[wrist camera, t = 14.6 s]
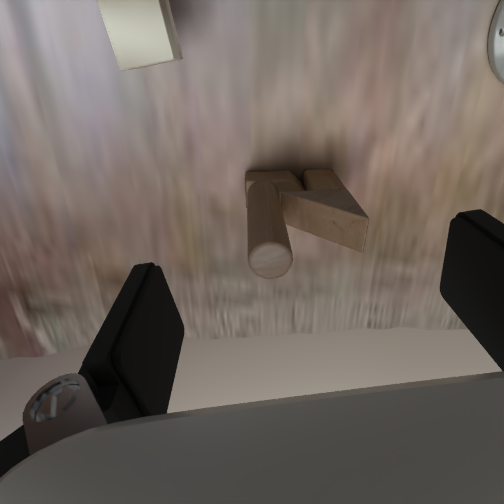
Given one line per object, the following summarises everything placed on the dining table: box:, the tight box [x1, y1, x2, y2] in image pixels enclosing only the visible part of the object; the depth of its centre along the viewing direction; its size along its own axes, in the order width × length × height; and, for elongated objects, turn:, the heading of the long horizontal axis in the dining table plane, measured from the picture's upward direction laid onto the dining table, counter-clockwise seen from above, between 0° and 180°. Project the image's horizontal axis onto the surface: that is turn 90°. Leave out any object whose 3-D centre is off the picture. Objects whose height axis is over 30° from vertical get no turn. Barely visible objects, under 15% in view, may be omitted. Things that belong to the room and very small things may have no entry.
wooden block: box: [245, 169, 369, 279], centre depth 33 cm, size 4×11×18 cm, turn 92°
